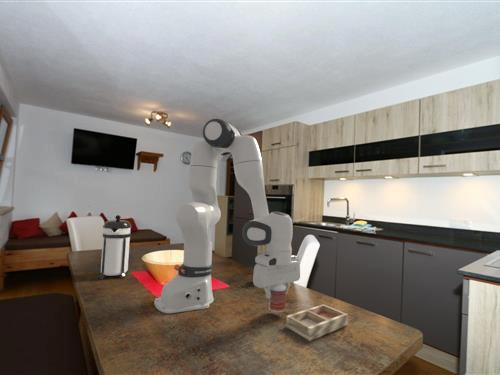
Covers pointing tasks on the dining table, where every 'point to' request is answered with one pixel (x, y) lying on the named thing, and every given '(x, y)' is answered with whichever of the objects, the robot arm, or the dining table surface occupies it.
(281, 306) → the pill bottle
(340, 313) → the tray
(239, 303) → the dining table surface
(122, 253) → the coffee press
